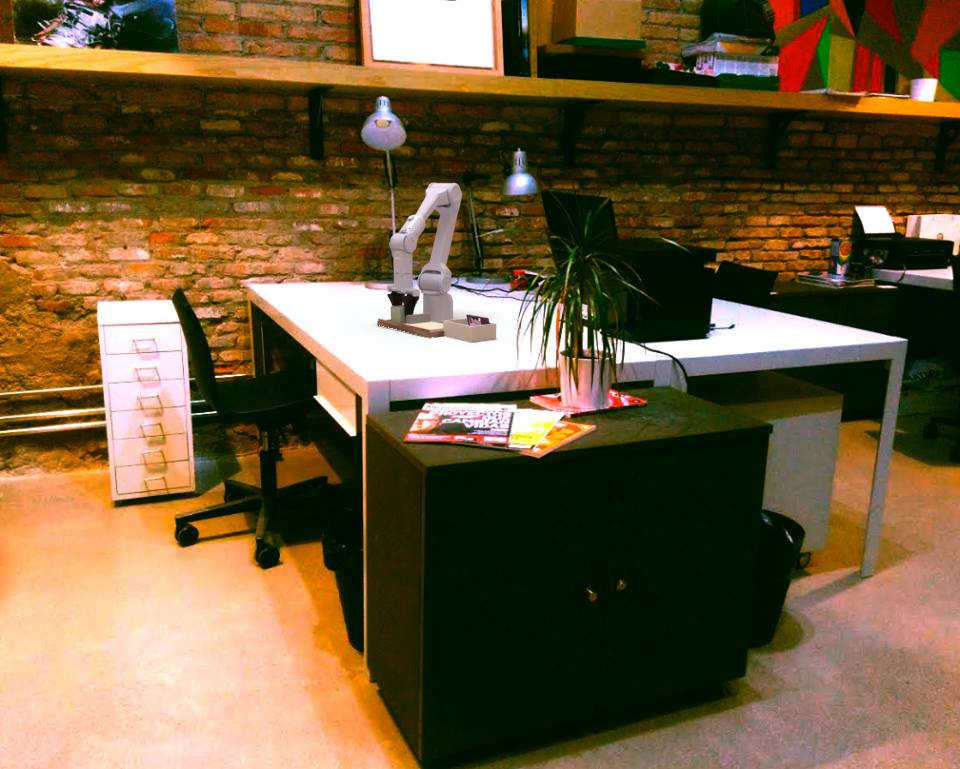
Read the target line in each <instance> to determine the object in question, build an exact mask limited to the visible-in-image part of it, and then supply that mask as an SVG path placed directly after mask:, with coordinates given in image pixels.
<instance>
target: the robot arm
mask: <svg viewBox="0 0 960 769" xmlns="http://www.w3.org/2000/svg"><path fill="white" fill-rule="evenodd" d="M462 197H463V193H462V191H461V187H460V186H459V184H458V183H456V182H452V183H450V182H449V183H444V182H441V183H439V182H431V183H430V184H429V185H428V187H427V188H426V189H425V198H424V199H423V201H422V203H421V205H419V208H418V209H417V212H416V213H415V214H412V215H410V216H408V217H407V220H406V221H405V223H404V224H403V226H401V228H400V230H399V232H396V233H394V234H393V235H392V236H391V238H390V240H389V241H390V242H388V245H389V249H390V250H391V256H392V259H393V284H388V285H386V288H387V289H386V290H387V294H386V295H387V298H388V299H389V301H390V304H391V306H398V305H404V311H405V318H406V315H414V312H415V308H416V306H417V304H418V301H419V300H420V295H421V294H422V314H424V313H429V314H430V321H435V322H440V323H443V321H445V320H454V319H455V318H454V299H453V297H452V295H451V294H450V293H449V292H450V289H451V287H452V271H451V270H450V269H449V267H448V266H447V262H448V258H449V254H450V250H451V244H452V241H453V237H454V232H455V228H456V223H457V218H458V213H459V211H460V206H461V202H462ZM434 211H436V212H438V214H439V219H438V223H437V224H438V225H437V228H436V229H437V230H436V233H435V236H434V242H433V247H432V251H431V255H430V259H429V262H428V263H426V264H425V265H424V266H422V268H421V271H420V273H419V275H418V278H417V288H415V287H414V286H413V282H414V280H413V276H414V275H413V253H414V251H415V250H416V249H417V245H418V241H419V237H420V236H421V234H422V233H423V231H424V230H425V228H426V227H427V226H426V225H427V224H426V220H428V218H429V217H430V216H431V214H432V213H433V212H434Z"/></svg>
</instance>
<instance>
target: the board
mask: <svg viewBox="0 0 960 769" xmlns="http://www.w3.org/2000/svg"><path fill="white" fill-rule="evenodd" d="M432 322H435V321H432ZM437 323H442V324H443V322H437ZM377 325H380V326H379V327H381V326H384V327H383V328H385V327H389V328H393V329H397V330H396V331H398V330H401V331H400V332H402V331H405V332H404V333H406V332H409V333H408V334H410V333H412V334H411V335H414V334H417V335H416V336H419V335H421V336H420V337H423V336H424V337H423V338H427V337H428V338H427V339H432V337H434V338H441V337H445V336H444V331H435V332H429V330H428V329H423V328H419V327H414V326H410V325H405V324H401V323H397V322H392V321H391V319H383V318H377ZM377 325H376V326H377ZM389 328H388V329H389ZM393 329H392V330H393Z"/></svg>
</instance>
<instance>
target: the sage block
mask: <svg viewBox="0 0 960 769" xmlns="http://www.w3.org/2000/svg"><path fill="white" fill-rule="evenodd" d="M390 320H391V321H392V322H397V323H401V324H406V318H405V311H404V304H402V305H398V306H392V305H391V306H390Z"/></svg>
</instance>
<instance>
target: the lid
mask: <svg viewBox="0 0 960 769" xmlns="http://www.w3.org/2000/svg"><path fill="white" fill-rule="evenodd" d="M442 323H443V322H440V323H437V322H432V321H430V314H429V313H424V314H423V313H415V314H414V313H413V315H406V324H405V325H410V326H414V327H419V328H423V329H428V330H429V332H435V331H443V324H442Z"/></svg>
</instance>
